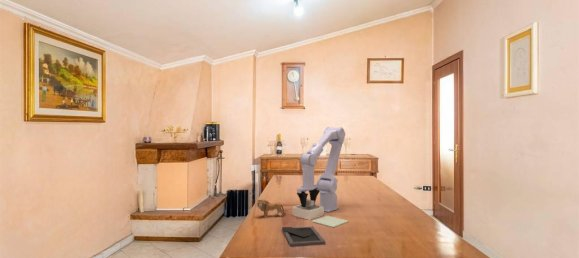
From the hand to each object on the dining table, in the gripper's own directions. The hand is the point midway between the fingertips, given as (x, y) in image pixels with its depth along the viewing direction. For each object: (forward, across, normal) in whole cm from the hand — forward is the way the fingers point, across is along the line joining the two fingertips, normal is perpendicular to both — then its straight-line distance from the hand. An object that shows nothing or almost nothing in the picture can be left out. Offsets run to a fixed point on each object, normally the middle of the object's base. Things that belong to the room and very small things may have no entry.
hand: (308, 205), depth 156 cm
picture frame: (+6, +25, +18) cm, 31 cm away
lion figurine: (+5, +14, -11) cm, 19 cm away
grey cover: (+2, 0, 0) cm, 2 cm away
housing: (+5, 0, 0) cm, 5 cm away
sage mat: (+5, +1, +14) cm, 15 cm away
